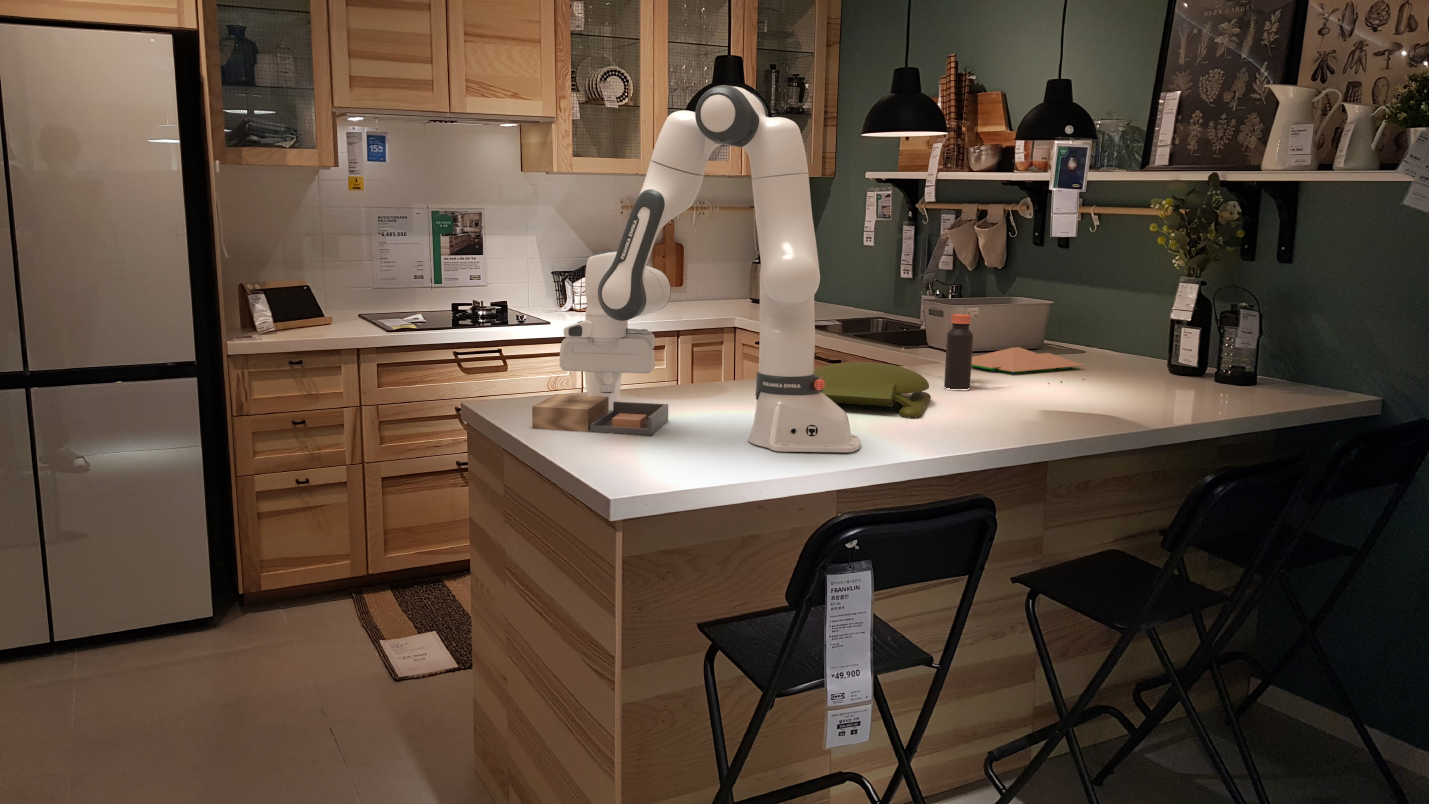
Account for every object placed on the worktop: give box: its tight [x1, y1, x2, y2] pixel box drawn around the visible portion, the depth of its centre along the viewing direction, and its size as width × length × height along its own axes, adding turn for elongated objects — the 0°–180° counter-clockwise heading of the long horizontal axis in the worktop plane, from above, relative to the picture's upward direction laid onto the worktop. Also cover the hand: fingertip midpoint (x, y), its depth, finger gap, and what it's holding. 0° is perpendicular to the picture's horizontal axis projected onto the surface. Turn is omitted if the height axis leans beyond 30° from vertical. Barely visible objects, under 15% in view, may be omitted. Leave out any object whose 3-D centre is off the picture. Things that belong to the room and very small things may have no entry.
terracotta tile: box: [612, 413, 647, 428], centre depth 229 cm, size 6×6×2 cm
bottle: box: [943, 313, 974, 389], centre depth 287 cm, size 7×7×20 cm
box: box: [589, 401, 669, 437], centre depth 229 cm, size 13×16×4 cm
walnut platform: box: [531, 393, 609, 433], centre depth 231 cm, size 12×16×5 cm
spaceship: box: [814, 361, 932, 419], centre depth 266 cm, size 35×31×10 cm
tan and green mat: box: [971, 346, 1086, 376], centre depth 321 cm, size 23×33×8 cm
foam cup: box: [584, 372, 623, 411], centre depth 246 cm, size 10×9×13 cm
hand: (607, 392), depth 229 cm, fingers closed
